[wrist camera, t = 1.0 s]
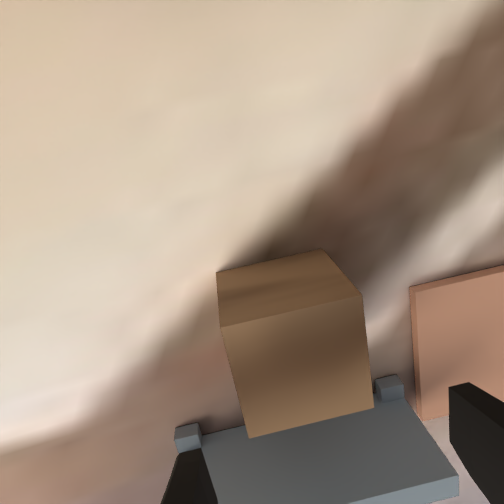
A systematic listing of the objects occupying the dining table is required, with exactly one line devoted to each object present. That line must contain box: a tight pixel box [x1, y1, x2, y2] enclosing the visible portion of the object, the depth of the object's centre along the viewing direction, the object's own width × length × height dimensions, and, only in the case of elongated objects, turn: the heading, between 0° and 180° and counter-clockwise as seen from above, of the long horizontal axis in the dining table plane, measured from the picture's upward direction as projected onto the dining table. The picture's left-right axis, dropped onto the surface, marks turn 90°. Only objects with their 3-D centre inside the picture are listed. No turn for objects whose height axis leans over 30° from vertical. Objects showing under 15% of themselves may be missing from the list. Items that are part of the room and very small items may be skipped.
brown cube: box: [216, 249, 374, 438], centre depth 17 cm, size 5×5×5 cm
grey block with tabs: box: [174, 375, 459, 504], centre depth 19 cm, size 3×12×6 cm, turn 101°
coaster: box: [409, 265, 504, 421], centre depth 21 cm, size 8×8×1 cm
